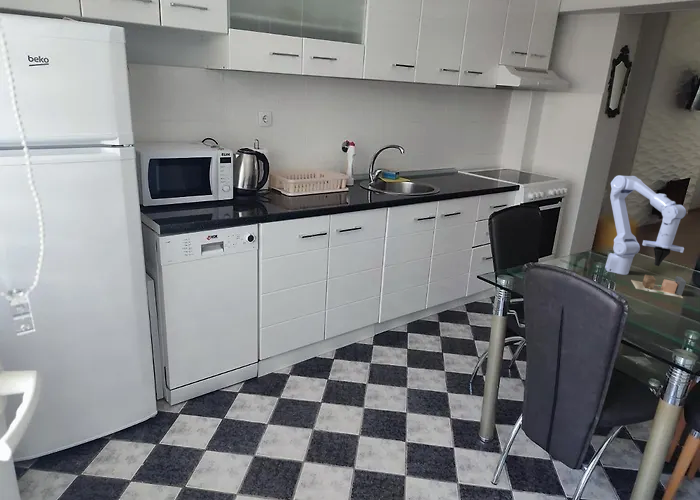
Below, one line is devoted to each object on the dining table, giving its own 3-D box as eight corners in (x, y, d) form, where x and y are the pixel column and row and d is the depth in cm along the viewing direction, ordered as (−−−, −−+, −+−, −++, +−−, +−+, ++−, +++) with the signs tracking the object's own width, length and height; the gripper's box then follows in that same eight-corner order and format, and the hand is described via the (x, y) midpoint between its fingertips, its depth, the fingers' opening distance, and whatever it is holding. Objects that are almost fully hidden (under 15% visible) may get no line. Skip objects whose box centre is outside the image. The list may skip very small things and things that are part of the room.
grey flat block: (675, 296, 197) (680, 280, 195) (671, 291, 203) (676, 276, 201) (680, 297, 197) (686, 281, 195) (676, 292, 202) (681, 277, 200)
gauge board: (635, 290, 199) (636, 288, 199) (630, 282, 209) (631, 279, 209) (682, 300, 194) (683, 297, 194) (674, 290, 204) (675, 288, 204)
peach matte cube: (663, 291, 199) (666, 282, 198) (660, 288, 203) (663, 279, 201) (674, 293, 198) (677, 284, 197) (671, 290, 202) (674, 281, 200)
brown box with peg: (645, 288, 199) (648, 279, 198) (642, 283, 205) (645, 274, 204) (653, 290, 199) (656, 280, 197) (650, 284, 204) (653, 276, 203)
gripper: (649, 232, 197) (639, 264, 201) (690, 239, 192) (679, 271, 197) (645, 228, 203) (636, 259, 208) (685, 235, 199) (674, 266, 203)
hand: (656, 265), depth 203 cm, fingers closed
